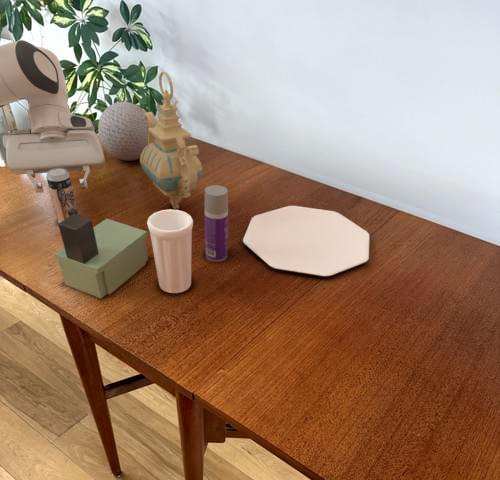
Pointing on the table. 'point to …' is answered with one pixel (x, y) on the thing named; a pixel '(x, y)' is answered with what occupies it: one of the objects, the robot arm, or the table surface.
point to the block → (78, 238)
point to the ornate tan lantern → (170, 152)
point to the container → (216, 222)
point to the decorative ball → (124, 130)
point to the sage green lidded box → (107, 259)
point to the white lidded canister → (61, 193)
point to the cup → (172, 248)
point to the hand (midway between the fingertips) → (62, 190)
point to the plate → (307, 241)
